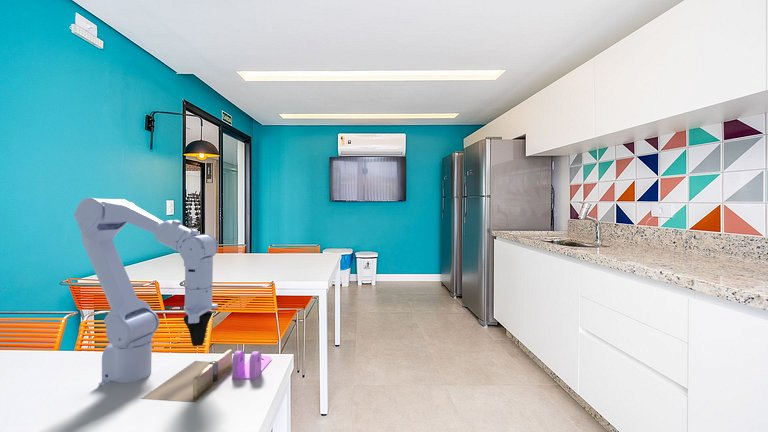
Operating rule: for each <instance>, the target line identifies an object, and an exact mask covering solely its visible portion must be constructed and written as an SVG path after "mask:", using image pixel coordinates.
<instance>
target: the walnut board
mask: <svg viewBox="0 0 768 432" xmlns="http://www.w3.org/2000/svg"><path fill="white" fill-rule="evenodd" d="M210 362H211V361H205V360H204V361H203V360H194V361H193V362H191V363H190V364H189V365H188V366H185V367H184V368H183V369H182V370H179V372H177V373H175V374H174V375H173V376H172V377H170V378H169V379H167V380H166V381H164V382H163V383H161V384H160V385H158V386H157V387H156V388H154V389H153V390H151V391H150V392H149V393H147V394H145V395H144V396H142V398H141V399H142V400H153V401H155V400H157V401H168V402H169V401H170V402H185V403H197V402H198V401H199V400H200V399H201V398H202V397H203V396H205V395H206V394H207V393H208V392H209V391H210V390H212V389H213V388H214V387H215V386H216V385H217V384H218V383H220V381H222V380H223V379H224V378H226V376H227V375H229V374H230V372H232V366H231V367H230V368H229V369H228V370H227V371H226V372H224V373H223V374H222V375H221V376H220V377H219V378H218V380H217V381H215V382H212V383H211V384H210V385H209V386H208V387H207V388H206V389H205V390H204V391H203V392H202V393H201V394H200V395H199V396H198V397H197V398H193V379H194V378H195V377H196V376H197V375H198V374H199V373H201V372H202V371H203V370H204V369H205V368H206V367H208V366H209V365H210Z"/></svg>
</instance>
